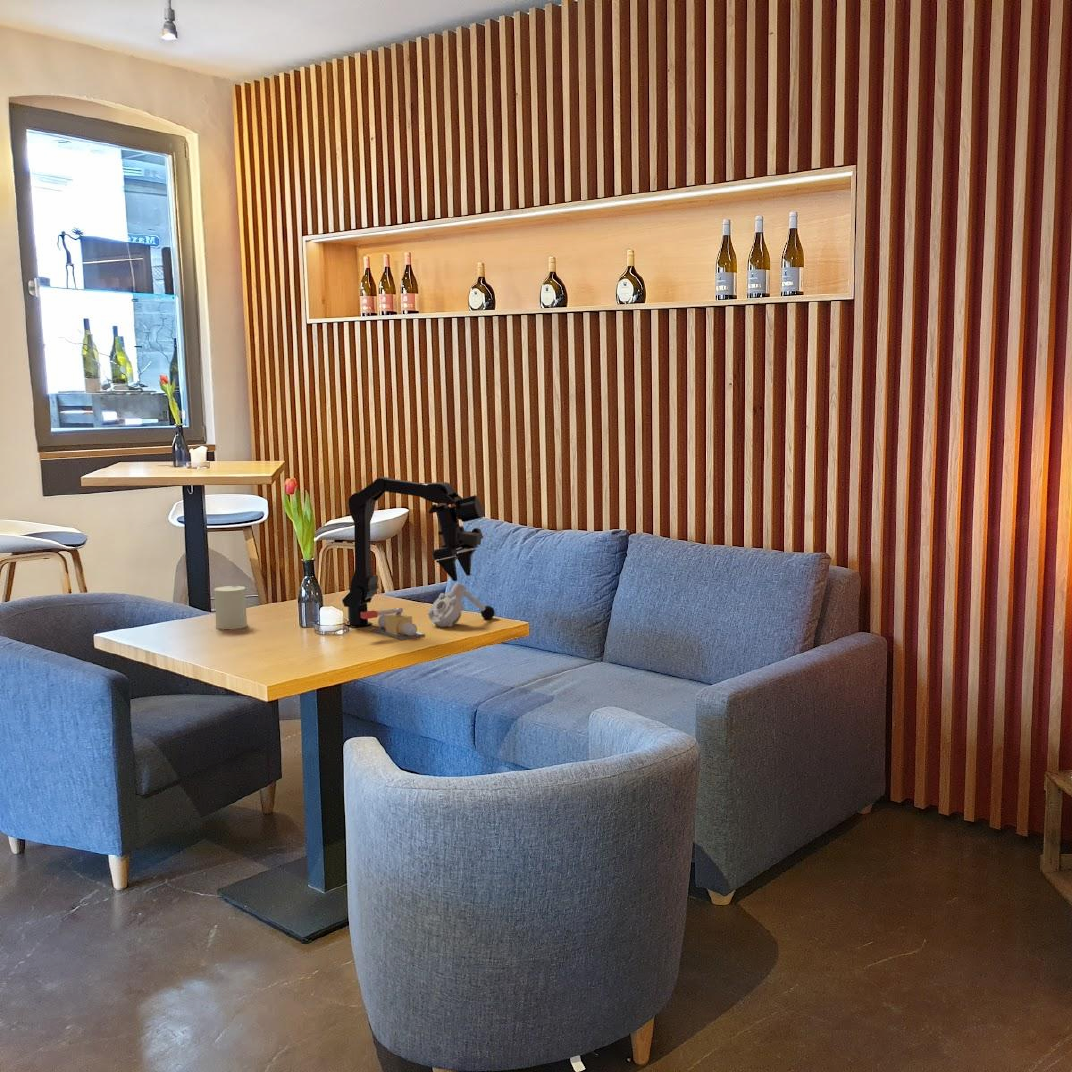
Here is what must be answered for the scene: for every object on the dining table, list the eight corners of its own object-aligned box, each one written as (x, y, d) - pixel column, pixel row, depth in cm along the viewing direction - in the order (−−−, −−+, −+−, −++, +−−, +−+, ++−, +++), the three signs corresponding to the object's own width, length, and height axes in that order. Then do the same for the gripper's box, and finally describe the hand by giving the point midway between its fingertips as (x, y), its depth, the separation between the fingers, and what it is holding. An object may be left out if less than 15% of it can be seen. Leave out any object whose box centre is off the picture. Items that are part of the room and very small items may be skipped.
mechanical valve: (421, 615, 335) (449, 574, 339) (458, 646, 345) (486, 607, 349) (439, 623, 327) (468, 581, 331) (477, 655, 337) (505, 614, 341)
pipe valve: (370, 630, 328) (370, 610, 327) (394, 626, 333) (394, 606, 332) (400, 640, 315) (399, 619, 314) (424, 636, 320) (424, 615, 319)
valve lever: (400, 612, 324) (400, 606, 324) (404, 613, 322) (404, 607, 322) (360, 617, 316) (360, 612, 316) (364, 619, 314) (364, 613, 314)
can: (252, 623, 340) (250, 584, 339) (239, 630, 331) (237, 589, 330) (224, 622, 342) (222, 583, 340) (210, 629, 333) (208, 589, 331)
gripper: (460, 524, 312) (473, 578, 313) (487, 516, 330) (499, 567, 331) (425, 532, 317) (438, 585, 317) (453, 523, 334) (465, 574, 335)
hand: (462, 578), depth 325 cm, fingers open, 9 cm apart
